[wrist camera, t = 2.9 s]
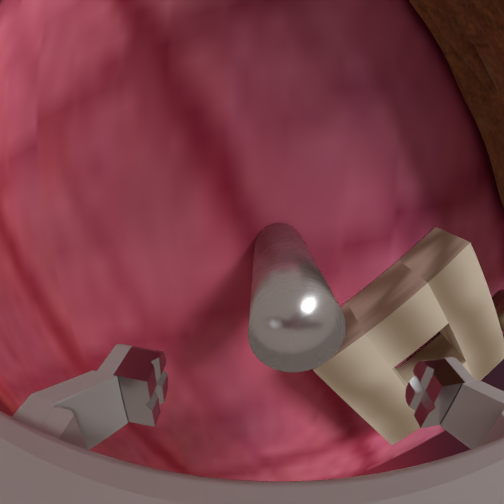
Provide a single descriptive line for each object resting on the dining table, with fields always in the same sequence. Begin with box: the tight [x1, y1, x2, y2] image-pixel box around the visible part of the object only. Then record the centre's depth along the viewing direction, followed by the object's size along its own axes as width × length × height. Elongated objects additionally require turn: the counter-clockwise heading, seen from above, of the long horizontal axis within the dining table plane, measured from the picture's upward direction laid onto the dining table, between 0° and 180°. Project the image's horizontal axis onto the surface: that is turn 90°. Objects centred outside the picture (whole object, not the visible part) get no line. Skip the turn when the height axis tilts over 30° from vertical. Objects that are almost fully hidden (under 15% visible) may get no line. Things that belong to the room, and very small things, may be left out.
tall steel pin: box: [248, 223, 346, 372], centre depth 17 cm, size 4×4×12 cm
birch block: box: [313, 227, 504, 445], centre depth 22 cm, size 14×14×5 cm
